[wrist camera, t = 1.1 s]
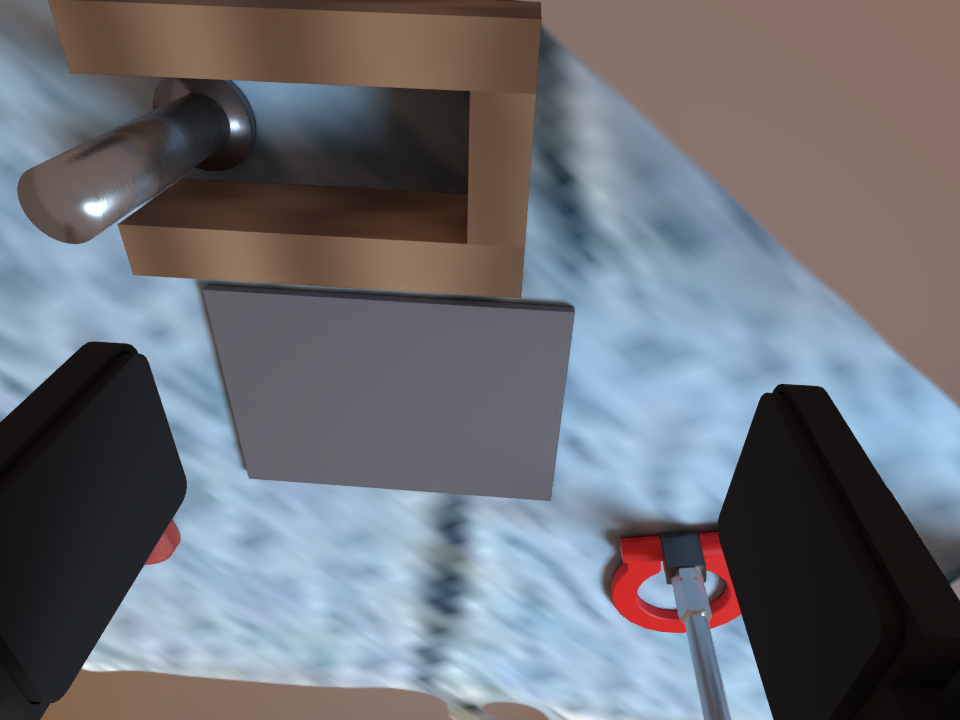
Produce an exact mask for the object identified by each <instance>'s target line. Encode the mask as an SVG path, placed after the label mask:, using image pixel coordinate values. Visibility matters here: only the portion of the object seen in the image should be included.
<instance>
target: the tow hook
mask: <svg viewBox="0 0 960 720" xmlns="http://www.w3.org/2000/svg"><path fill="white" fill-rule="evenodd" d="M620 548H621V557H622V559H623V564H622V565H621V566H620V567H619V568H618V570H617V571H616V572H615V574H614V575H613V578H612V582H611V595H612V600H613V604H614V606H615V608H616V609H617V610H618V612H619V613H620V614H621V615H622V616H623V617H625V618H626V619H628V620H629V621H630V622H632V623H634V624H637V625H639V626H641V627H644V628H647V629H651V630H656V631H660V632H672V633H685V632H687V637H688V642H689V647H690V652H691V657H692V662H693V667H694V672H695V677H696V682H697V687H698V692H699V697H700V702H701V707H702V712H703V717H704V720H731V716H730V712H729V708H728V703H727V699H726V695H725V691H724V686H723V682H722V678H721V673H720V669H719V665H718V660H717V656H716V652H715V648H714V643H713V639H712V635H711V630H710V629H711V628H714V627H717V626H720V625H722V624H725V623H727V622H729V621H731V620H732V619H734V618H736V617H737V616H739V615H741V611H740V607H739V604H738V601H737V598H736V594H735V591H734V588H733V584H732V581H731V578H730V574H729V571H728V568H727V565H726V561H725V558H724V555H723V551H722V548H721V545H720V541H719V537H718V532H709V533H697V532H681V533H667V534H660V535H659V536H650V537H635V538H621V539H620ZM661 561H663V566H664V571H665V577H666V582H667V584H672V585H673V587H674V589H673V590H674V596H675V601H676V606H677V611H672V610H664V609H659V608H655V607H653V606H651V605H648V604H647V603H645V602H644V601H643V600H641V599H640V597H639V596H638V595H637V591H638V588H639V587H640V585H641V584H642V583H643V582H644V581H645V580H646V579H648V578H649V577H650V576H652V575H655V574H657V573H659V572H660V571H661ZM706 570H707V571H711V572H713V573H715V574H717V575H719V576H720V577H721V578H722V579H724V580H725V581H726V583H727V587H726V589H725V591H724V593H723V594H722V595H721V596H720V597H719V598H718V599H717V600H715V601H714V602H712V603H710V604H709V601H708V597H707V593H706V589H705V586H704V582H706Z"/></svg>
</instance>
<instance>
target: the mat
mask: <svg viewBox="0 0 960 720" xmlns="http://www.w3.org/2000/svg"><path fill="white" fill-rule="evenodd" d="M203 293H204V297H205V301H206V305H207V309H208V313H209V318H210V322H211V326H212V330H213V334H214V338H215V342H216V346H217V350H218V354H219V358H220V362H221V366H222V370H223V375H224V379H225V383H226V387H227V391H228V395H229V399H230V403H231V407H232V411H233V415H234V419H235V423H236V428H237V432H238V436H239V440H240V444H241V448H242V452H243V456H244V460H245V464H246V468H247V472H248V476H249V479H262V480H276V481H289V482H303V483H316V484H330V485H343V486H357V487H370V488H384V489H397V490H411V491H424V492H438V493H451V494H465V495H478V496H492V497H505V498H518V499H532V500H545V501H551V494H552V486H553V478H554V470H555V463H556V455H557V447H558V439H559V432H560V424H561V416H562V408H563V401H564V393H565V385H566V377H567V370H568V362H569V354H570V346H571V339H572V331H573V323H574V315H575V309H574V307H565V306H549V305H532V304H516V303H499V302H483V301H466V300H450V299H433V298H416V297H400V296H383V295H367V294H350V293H334V292H317V291H301V290H284V289H267V288H251V287H234V286H218V285H207V286H206V287H205V288H204V289H203Z"/></svg>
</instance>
